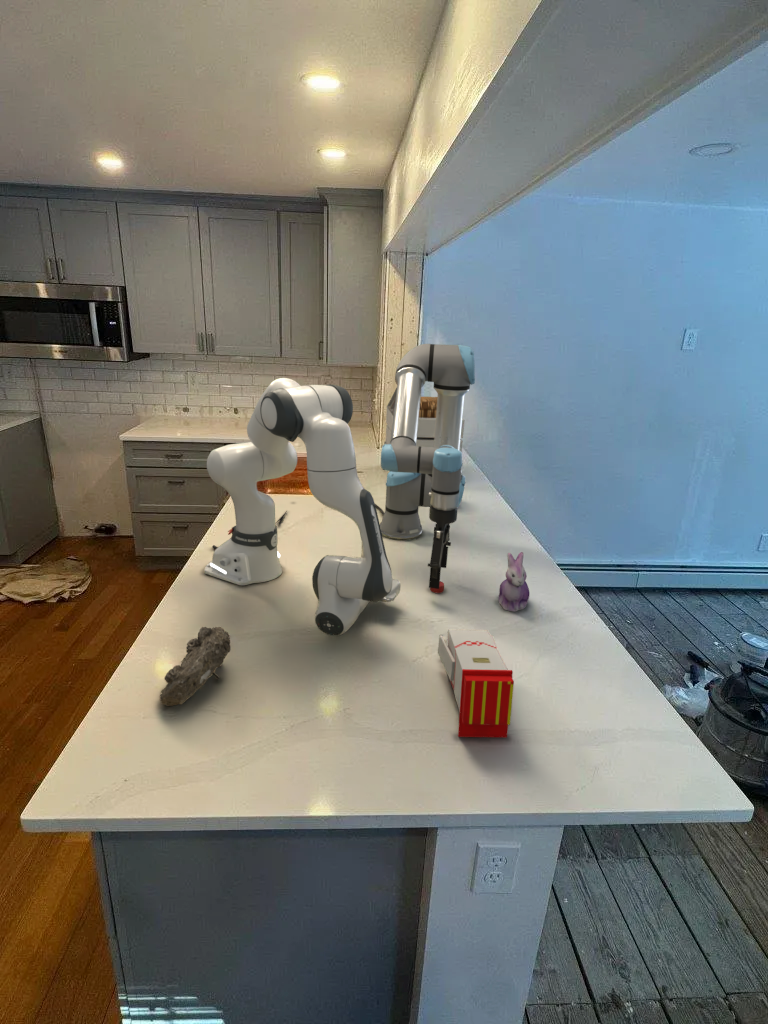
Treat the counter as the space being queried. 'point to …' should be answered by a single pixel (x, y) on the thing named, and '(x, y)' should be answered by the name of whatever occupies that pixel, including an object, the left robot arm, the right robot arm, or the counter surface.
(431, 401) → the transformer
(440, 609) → the counter surface
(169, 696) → the fossil
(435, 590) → the cap
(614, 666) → the counter surface
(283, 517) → the feather
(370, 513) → the left robot arm
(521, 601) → the figurine
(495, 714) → the toy
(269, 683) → the counter surface
